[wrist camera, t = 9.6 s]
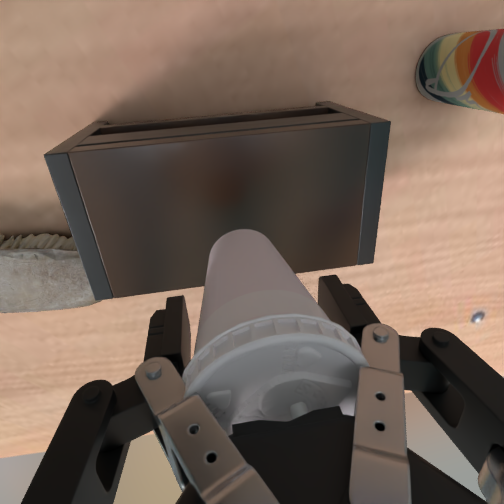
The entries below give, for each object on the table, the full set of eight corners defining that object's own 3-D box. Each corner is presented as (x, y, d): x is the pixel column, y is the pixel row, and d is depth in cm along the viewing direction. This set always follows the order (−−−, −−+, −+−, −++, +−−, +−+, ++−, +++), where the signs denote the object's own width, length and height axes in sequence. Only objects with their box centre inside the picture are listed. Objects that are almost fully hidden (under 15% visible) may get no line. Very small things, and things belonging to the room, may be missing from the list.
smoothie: (311, 280, 21) (475, 587, 9) (212, 320, 21) (241, 668, 9) (277, 185, 18) (463, 462, 6) (161, 234, 18) (103, 594, 6)
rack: (122, 232, 37) (94, 301, 27) (92, 122, 31) (42, 154, 21) (325, 208, 39) (373, 263, 29) (330, 101, 34) (391, 121, 23)
